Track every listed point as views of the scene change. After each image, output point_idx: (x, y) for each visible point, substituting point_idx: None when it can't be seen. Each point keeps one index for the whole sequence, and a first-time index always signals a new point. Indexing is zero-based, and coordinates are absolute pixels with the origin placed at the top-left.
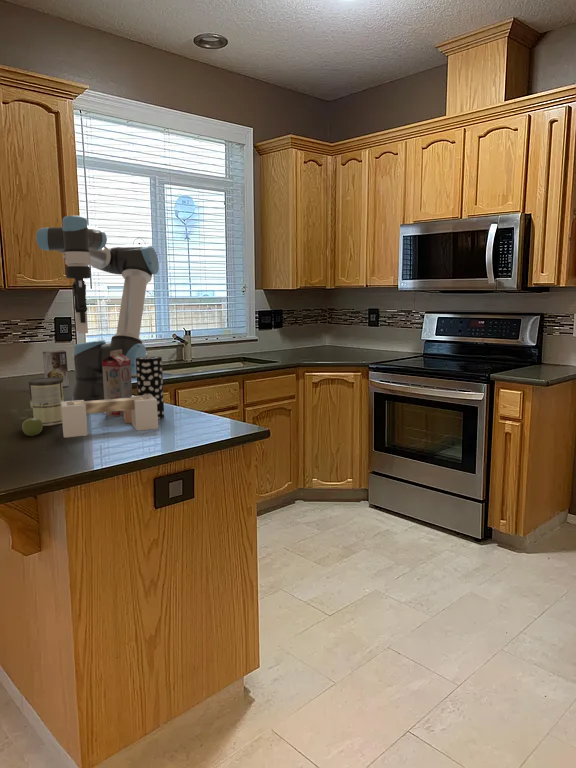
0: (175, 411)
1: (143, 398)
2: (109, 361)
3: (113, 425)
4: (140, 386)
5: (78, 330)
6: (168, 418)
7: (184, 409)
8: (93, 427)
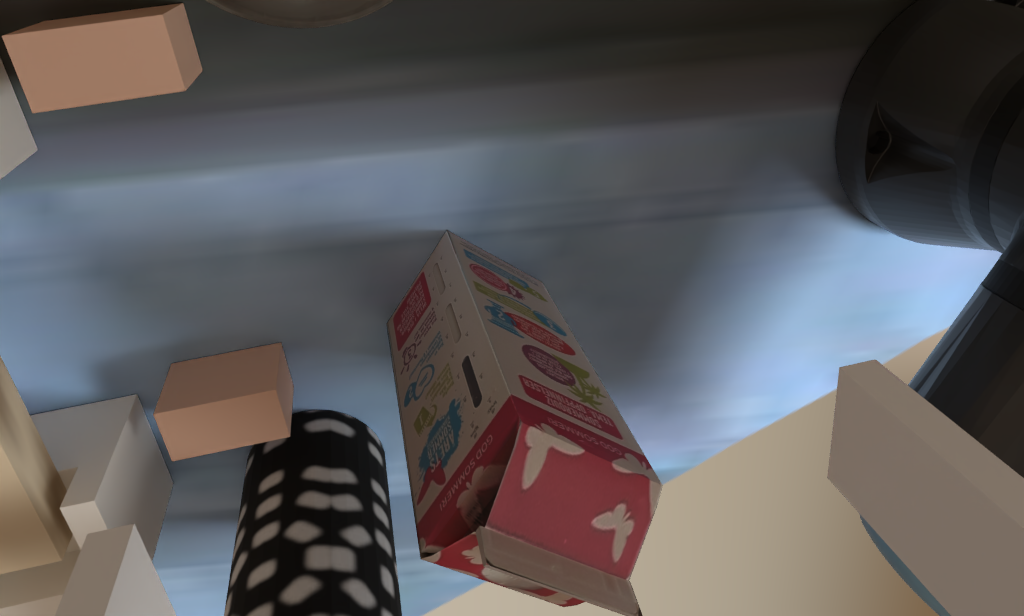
0: None
1: None
2: (476, 483)
3: (124, 302)
4: (248, 565)
5: (840, 398)
6: None
7: (482, 581)
8: (77, 194)
